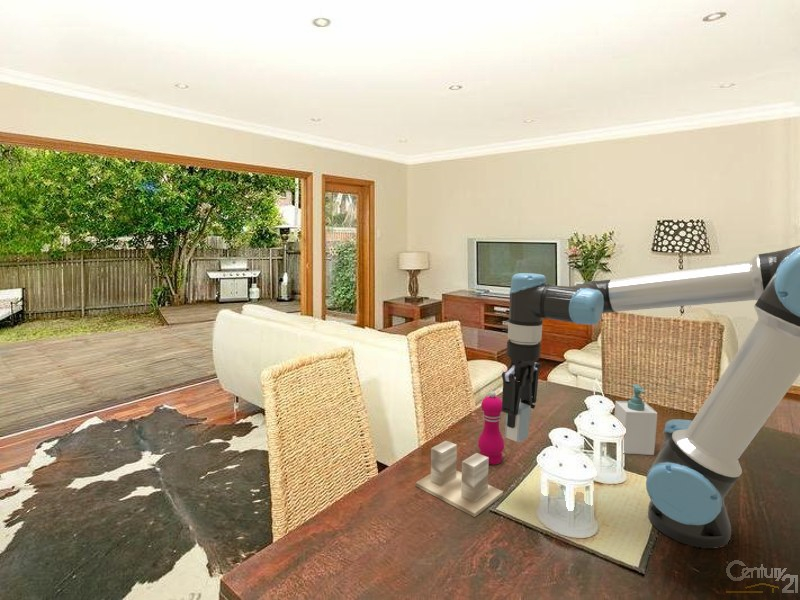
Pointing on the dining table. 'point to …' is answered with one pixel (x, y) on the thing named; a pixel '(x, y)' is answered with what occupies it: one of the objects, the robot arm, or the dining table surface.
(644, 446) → the soap bottle
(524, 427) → the blue-grey rectangular block
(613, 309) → the robot arm
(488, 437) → the pepper mill
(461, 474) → the two-post base plate
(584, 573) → the dining table surface
